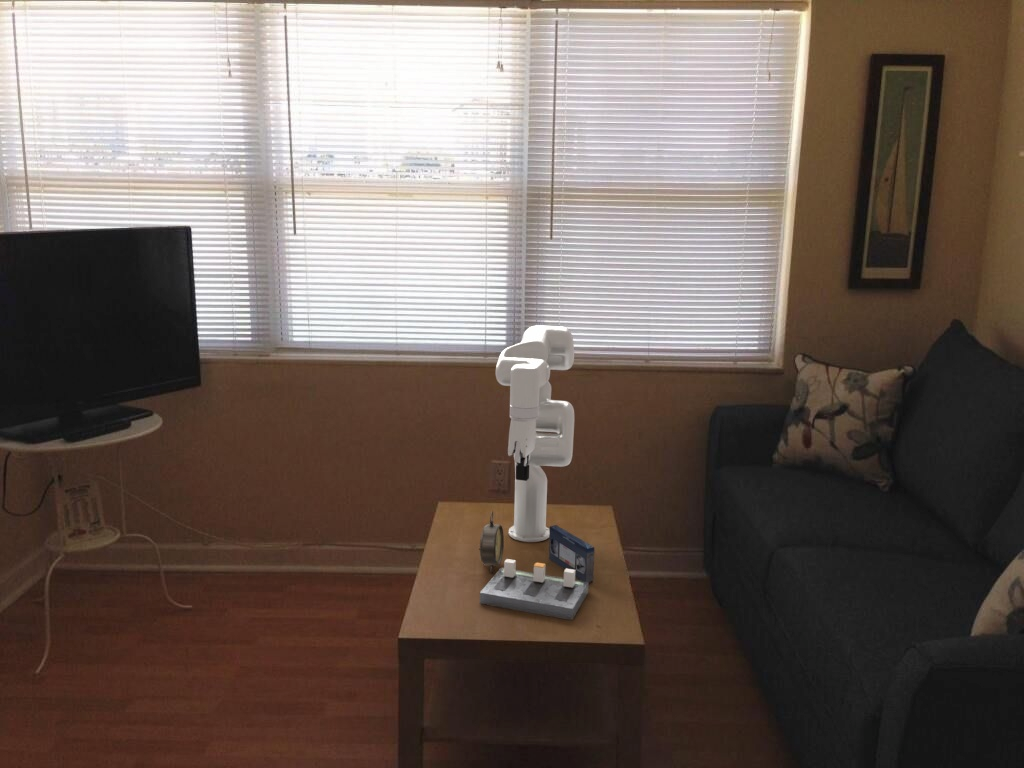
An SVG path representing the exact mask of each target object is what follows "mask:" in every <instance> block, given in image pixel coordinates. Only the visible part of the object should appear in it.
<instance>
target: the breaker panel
mask: <svg viewBox="0 0 1024 768" xmlns="http://www.w3.org/2000/svg"><path fill="white" fill-rule="evenodd" d="M533 577H534V572H530V571H523V570H518V569H516V574H515V576H514V577H513V578H512V577H506V576H504V567H499V569H498V571H497V572H495V574H494V575H493V577H492V578H491V579H489V581H488V582H487V584H486V585H485V586H484V587H483V588H482V589H481V590H480V592H479V604H480V605H485V604H487V605H486V606H490V605H493V606H492V607H496V606H497V608H501V607H502V609H507V608H508V609H507V610H512V611H519V612H524V613H525V612H526V613H530V614H536V615H541V616H548V617H553V618H559V619H564V620H570V621H573V619H574V618H575V616H576V614H577V613H578V611H579V609H580V607H581V606H582V604H583V602H584V600H585V599H586V597H587V596H588V594H589V583H590V582H585V581H581V580H580V579H579V580H578V579H575V585H574V587H573V588H572V587H566V586H563V582H564V577H560V576H559V577H558V576H554V575H547V574H545V580H544V581H543V582H537V581H533Z"/></svg>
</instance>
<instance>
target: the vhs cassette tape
mask: <svg viewBox="0 0 1024 768" xmlns="http://www.w3.org/2000/svg"><path fill="white" fill-rule="evenodd" d="M549 533H550V535H549V538H548V544H549V545H548V559H549V560H550V561H551V562H553V563H554V564H556V565H557V566H559V567H560V568H562V569H563V570H565V569H566V568H567V569H573V570H575V578H577V580H578V579H579V581H585V582H589V583H593V582H594V570H595V569H594V567H595V547H594V546H592V545H591V544H590V543H587V542H586V541H584V540H583V539H581V538H579V537H578V536H575V535H574V534H573V533H572V532H569V531H567V530H566V529H564V528H562V527H560V526H559V525H557V524H555V525H550V526H549ZM591 581H592V582H591Z"/></svg>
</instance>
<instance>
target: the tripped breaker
mask: <svg viewBox="0 0 1024 768" xmlns="http://www.w3.org/2000/svg"><path fill="white" fill-rule="evenodd" d="M533 573H534V577H533V581H537V582H543V581H544V580H545V575H546V563H542V562H535V563H534V564H533Z"/></svg>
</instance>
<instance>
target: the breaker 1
mask: <svg viewBox="0 0 1024 768" xmlns="http://www.w3.org/2000/svg"><path fill="white" fill-rule="evenodd" d="M516 564H517V560H515V559H509V558H506V559H505V560H504V563H503V568H504V576H506V577H512V578H513V577H514V576H515V574H516V570H517V569H516V568H517V567H516Z"/></svg>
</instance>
